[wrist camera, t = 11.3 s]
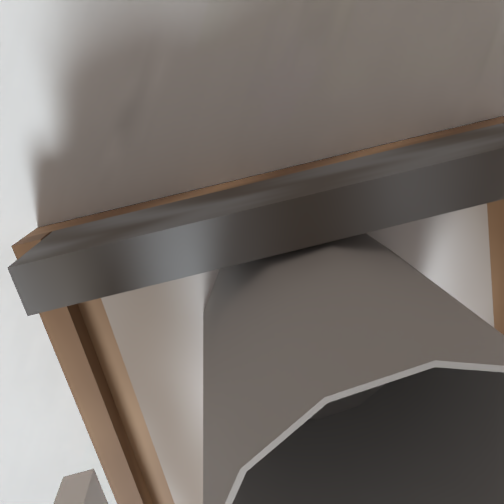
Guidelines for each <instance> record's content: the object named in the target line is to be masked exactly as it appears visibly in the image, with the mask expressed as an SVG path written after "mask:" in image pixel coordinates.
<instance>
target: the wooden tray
mask: <svg viewBox="0 0 504 504" xmlns="http://www.w3.org/2000/svg"><path fill="white" fill-rule="evenodd" d="M364 233H366V234H368V235H369V236H371V237H372V238H374V239H375V240H377V241H378V242H380V243H381V244H383V245H384V246H386V247H387V248H389V249H390V250H391V251H393V252H394V253H395V254H397V255H398V256H399V257H401V258H402V259H403V260H405V261H406V262H407V263H409V264H410V265H411V266H413V267H414V268H415V269H417V270H418V271H419V272H421V273H422V274H423V275H425V276H426V277H427V278H429V279H430V280H431V281H433V282H434V283H435V284H437V285H438V286H439V287H441V288H442V289H443V290H445V291H446V292H447V293H449V294H450V295H451V296H453V297H454V298H455V299H457V300H458V301H459V302H461V303H462V304H463V305H465V306H466V307H467V308H469V309H470V310H471V311H473V312H474V313H475V314H477V315H478V316H479V317H481V318H482V319H483V320H485V321H486V322H487V323H489V324H490V325H491V326H492V327H494V328H495V329H496V330H498V331H499V332H500V333H502V334H503V335H504V116H502V117H498V118H494V119H489V120H485V121H481V122H477V123H473V124H469V125H464V126H460V127H456V128H452V129H448V130H444V131H439V132H435V133H431V134H427V135H423V136H418V137H414V138H410V139H406V140H402V141H398V142H393V143H389V144H385V145H381V146H377V147H373V148H368V149H364V150H360V151H356V152H352V153H348V154H343V155H339V156H335V157H331V158H327V159H323V160H318V161H314V162H310V163H306V164H302V165H298V166H293V167H289V168H285V169H281V170H277V171H273V172H268V173H264V174H260V175H256V176H252V177H247V178H243V179H239V180H235V181H231V182H227V183H222V184H218V185H214V186H210V187H206V188H202V189H197V190H193V191H189V192H185V193H181V194H177V195H172V196H168V197H164V198H160V199H156V200H152V201H147V202H143V203H139V204H135V205H131V206H127V207H122V208H118V209H114V210H110V211H106V212H101V213H97V214H93V215H89V216H85V217H81V218H76V219H72V220H68V221H64V222H60V223H56V224H51V225H47V226H43V227H39V228H36V229H35V230H34V231H32V232H31V233H29V234H28V235H27V236H25V237H24V238H22V239H21V240H20V241H18V242H17V243H15V244H14V245H13V246H12V248H13V251H14V253H15V256H16V258H17V261H15V262H14V263H13V264H12V265H10V266H9V267H8V270H9V273H10V275H11V277H12V280H13V282H14V284H15V287H16V289H17V292H18V294H19V296H20V299H21V301H22V303H23V306H24V308H25V311H26V313H27V315H28V316H29V315H33V314H38V313H39V314H40V317H41V319H42V322H43V324H44V326H45V329H46V331H47V334H48V336H49V339H50V341H51V343H52V346H53V348H54V351H55V353H56V356H57V358H58V360H59V363H60V365H61V368H62V370H63V373H64V375H65V378H66V380H67V382H68V385H69V387H70V390H71V392H72V395H73V397H74V399H75V402H76V404H77V407H78V409H79V412H80V414H81V416H82V419H83V421H84V424H85V426H86V429H87V431H88V434H89V436H90V438H91V441H92V443H93V446H94V448H95V451H96V453H97V455H98V458H99V460H100V463H101V465H102V468H103V470H104V473H105V475H106V477H107V480H108V482H109V485H110V487H111V490H112V492H113V494H114V497H115V499H116V502H117V504H203V312H204V309H205V307H206V304H207V301H208V299H209V296H210V294H211V291H212V288H213V286H214V283H215V280H216V278H217V275H218V273H219V270H220V269H221V268H225V267H229V266H233V265H237V264H241V263H246V262H250V261H254V260H258V259H262V258H266V257H270V256H274V255H278V254H282V253H286V252H290V251H294V250H299V249H303V248H307V247H311V246H315V245H319V244H323V243H327V242H331V241H335V240H339V239H343V238H347V237H352V236H356V235H360V234H364Z"/></svg>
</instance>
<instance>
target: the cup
mask: <svg viewBox="0 0 504 504" xmlns="http://www.w3.org/2000/svg"><path fill="white" fill-rule="evenodd" d="M203 504H504V335H503V334H502V333H500V332H499V331H498V330H496V329H495V328H494V327H492V326H491V325H490V324H489V323H487V322H486V321H485V320H483V319H482V318H481V317H479V316H478V315H477V314H475V313H474V312H473V311H471V310H470V309H469V308H467V307H466V306H465V305H463V304H462V303H461V302H459V301H458V300H457V299H455V298H454V297H453V296H451V295H450V294H449V293H447V292H446V291H445V290H443V289H442V288H441V287H439V286H438V285H437V284H435V283H434V282H433V281H431V280H430V279H429V278H427V277H426V276H425V275H423V274H422V273H421V272H419V271H418V270H417V269H415V268H414V267H413V266H411V265H410V264H409V263H407V262H406V261H405V260H403V259H402V258H401V257H399V256H398V255H397V254H395V253H394V252H393V251H391V250H390V249H389V248H387V247H386V246H384V245H383V244H381V243H380V242H378V241H377V240H375V239H374V238H372V237H371V236H369V235H368V234H366V233H364V234H360V235H356V236H352V237H347V238H343V239H339V240H335V241H331V242H327V243H323V244H319V245H315V246H311V247H307V248H303V249H299V250H294V251H290V252H286V253H282V254H278V255H274V256H270V257H266V258H262V259H258V260H254V261H250V262H246V263H241V264H237V265H233V266H229V267H225V268H221V269H220V270H219V273H218V275H217V278H216V280H215V283H214V286H213V288H212V291H211V294H210V296H209V299H208V301H207V304H206V307H205V309H204V312H203Z"/></svg>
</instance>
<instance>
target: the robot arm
mask: <svg viewBox="0 0 504 504" xmlns="http://www.w3.org/2000/svg"><path fill="white" fill-rule="evenodd" d="M54 504H108V502H107V500H106V498H105V495H104V493H103V490H102V488H101V485H100V483H99V481H98V478H97V476H96V473H95V471H94V469H91V470H87V471H84V472H80V473H76V474H73V475H69V476H65V477H63V479H62V482H61V485H60V488H59V490H58V493H57V496H56V498H55V501H54Z"/></svg>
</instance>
